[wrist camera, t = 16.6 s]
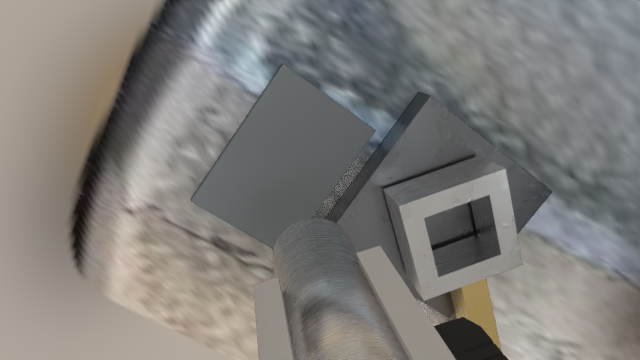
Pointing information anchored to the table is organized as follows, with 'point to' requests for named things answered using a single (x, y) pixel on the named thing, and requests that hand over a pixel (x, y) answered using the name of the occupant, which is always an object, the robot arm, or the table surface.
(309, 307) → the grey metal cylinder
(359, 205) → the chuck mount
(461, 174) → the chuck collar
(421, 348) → the robot arm
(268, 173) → the pad
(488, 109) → the table surface
